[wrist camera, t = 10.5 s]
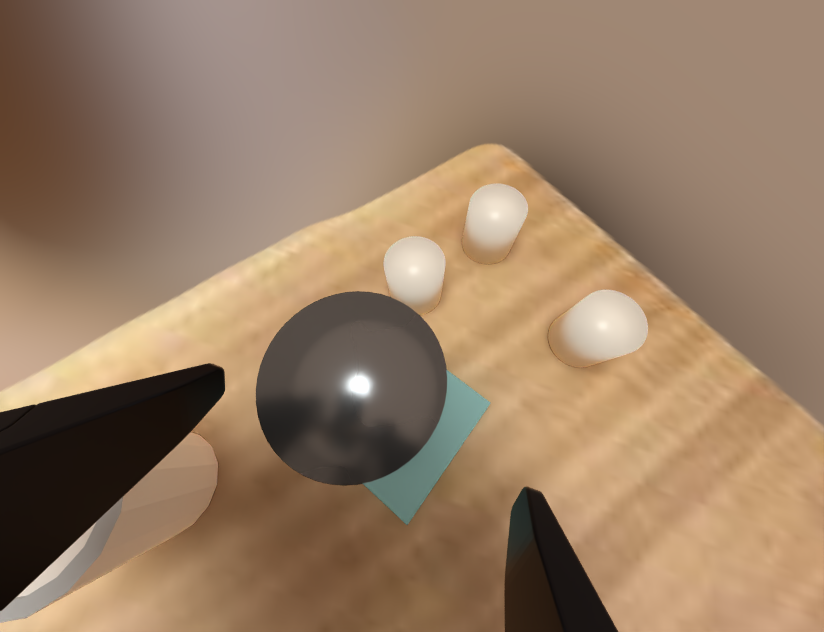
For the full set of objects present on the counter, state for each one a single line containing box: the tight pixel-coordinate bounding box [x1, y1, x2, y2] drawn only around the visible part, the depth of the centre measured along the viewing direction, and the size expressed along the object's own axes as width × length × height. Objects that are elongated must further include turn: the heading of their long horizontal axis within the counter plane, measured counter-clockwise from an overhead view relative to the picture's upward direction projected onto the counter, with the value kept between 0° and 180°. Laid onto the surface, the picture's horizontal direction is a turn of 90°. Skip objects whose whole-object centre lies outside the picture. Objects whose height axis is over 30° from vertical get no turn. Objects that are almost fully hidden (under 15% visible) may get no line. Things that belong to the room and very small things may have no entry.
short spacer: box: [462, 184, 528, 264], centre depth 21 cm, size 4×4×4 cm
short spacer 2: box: [548, 290, 648, 368], centre depth 19 cm, size 4×4×4 cm
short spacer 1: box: [384, 236, 445, 315], centre depth 20 cm, size 4×4×4 cm
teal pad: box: [363, 370, 490, 525], centre depth 19 cm, size 8×8×1 cm
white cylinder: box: [0, 432, 218, 623], centre depth 15 cm, size 7×7×7 cm
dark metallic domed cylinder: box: [256, 291, 447, 485], centre depth 13 cm, size 4×4×13 cm
